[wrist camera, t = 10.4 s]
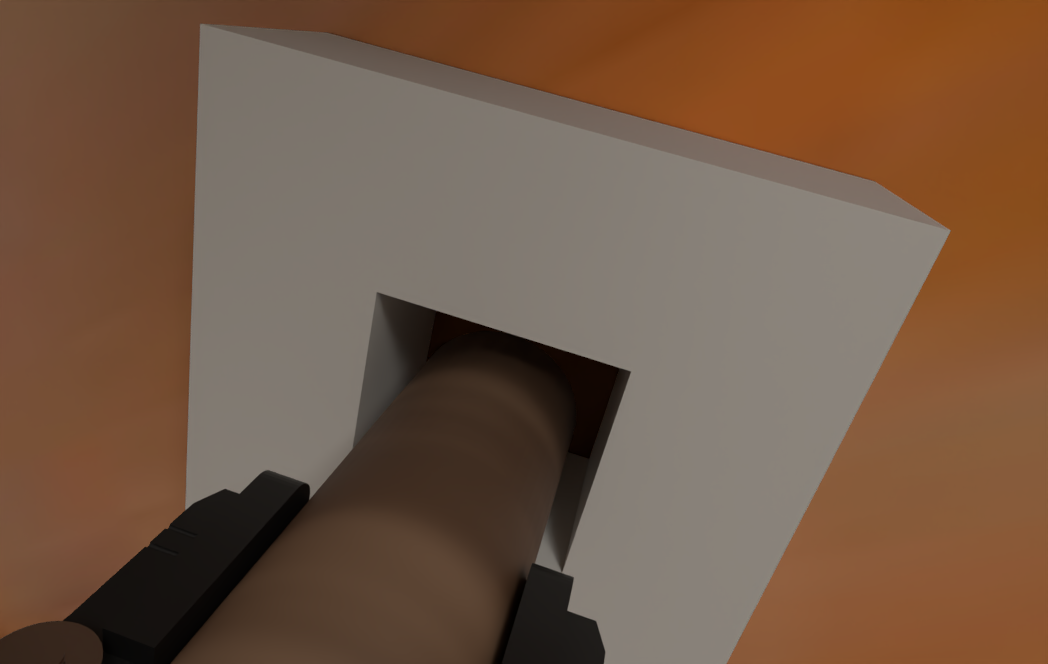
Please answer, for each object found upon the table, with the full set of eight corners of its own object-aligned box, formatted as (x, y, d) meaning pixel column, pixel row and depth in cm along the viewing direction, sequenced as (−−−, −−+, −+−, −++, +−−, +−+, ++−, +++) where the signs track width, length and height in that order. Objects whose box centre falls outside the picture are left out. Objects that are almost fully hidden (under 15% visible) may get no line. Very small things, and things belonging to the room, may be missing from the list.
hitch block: (326, 32, 17) (200, 23, 13) (874, 181, 16) (950, 230, 11) (281, 468, 23) (183, 568, 19) (680, 607, 22) (679, 753, 17)
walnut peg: (433, 309, 16) (-534, 1280, 3) (596, 360, 16) (208, 1697, 3) (406, 447, 18) (-308, 1449, 5) (553, 496, 17) (184, 1730, 5)
